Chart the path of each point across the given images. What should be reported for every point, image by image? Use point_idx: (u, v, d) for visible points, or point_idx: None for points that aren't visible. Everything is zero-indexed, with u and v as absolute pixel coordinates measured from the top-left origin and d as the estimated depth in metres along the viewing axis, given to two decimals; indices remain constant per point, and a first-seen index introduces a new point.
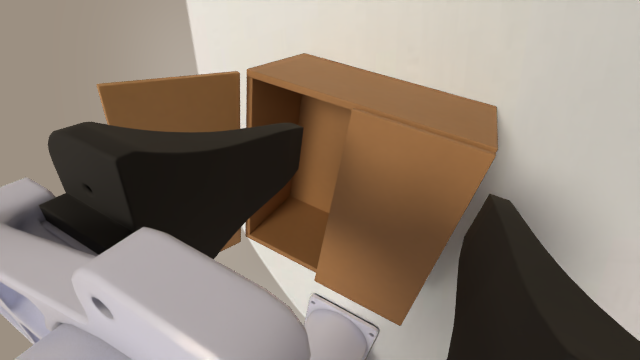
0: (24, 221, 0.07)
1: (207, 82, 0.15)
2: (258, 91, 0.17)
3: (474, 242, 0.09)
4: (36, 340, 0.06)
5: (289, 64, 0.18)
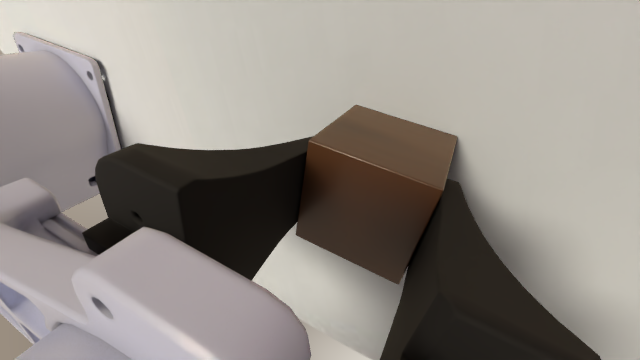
0: (24, 221, 0.07)
1: None
2: None
3: None
4: (36, 340, 0.06)
5: None
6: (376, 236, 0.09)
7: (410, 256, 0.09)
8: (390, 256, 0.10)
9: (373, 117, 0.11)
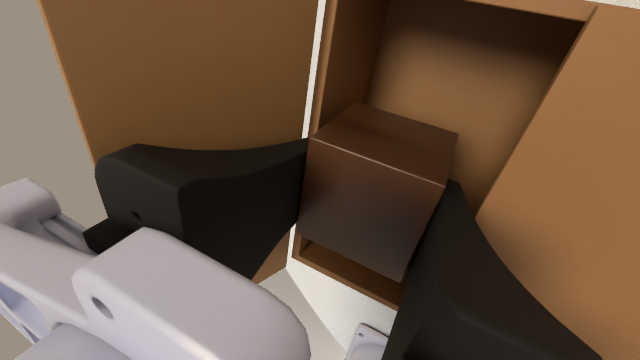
0: (24, 221, 0.07)
1: None
2: (343, 11, 0.10)
3: None
4: (36, 340, 0.06)
5: None
6: (377, 234, 0.09)
7: (411, 254, 0.09)
8: (391, 254, 0.09)
9: (374, 114, 0.11)
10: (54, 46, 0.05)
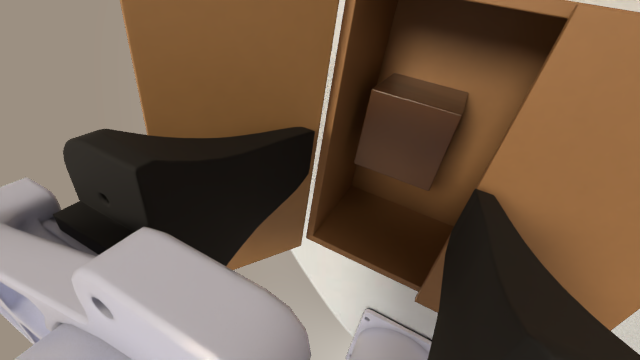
0: (24, 221, 0.07)
1: None
2: (359, 10, 0.11)
3: (459, 236, 0.10)
4: (36, 340, 0.06)
5: None
6: (415, 155, 0.14)
7: (438, 167, 0.14)
8: (424, 170, 0.14)
9: (408, 79, 0.16)
10: (125, 25, 0.07)
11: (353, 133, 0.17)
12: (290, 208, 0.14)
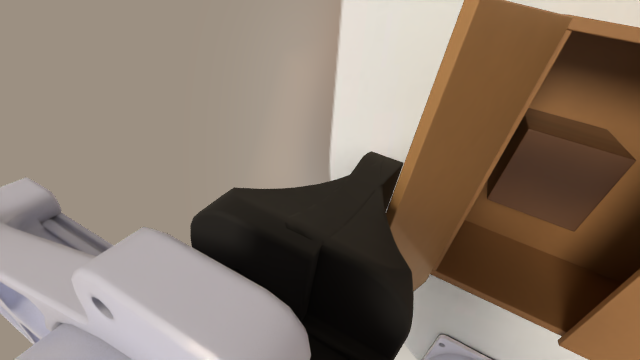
0: (24, 221, 0.07)
1: (548, 26, 0.08)
2: None
3: None
4: (36, 340, 0.06)
5: None
6: (566, 196, 0.14)
7: (592, 209, 0.13)
8: (574, 210, 0.14)
9: (544, 115, 0.15)
10: (438, 102, 0.07)
11: None
12: (437, 249, 0.14)
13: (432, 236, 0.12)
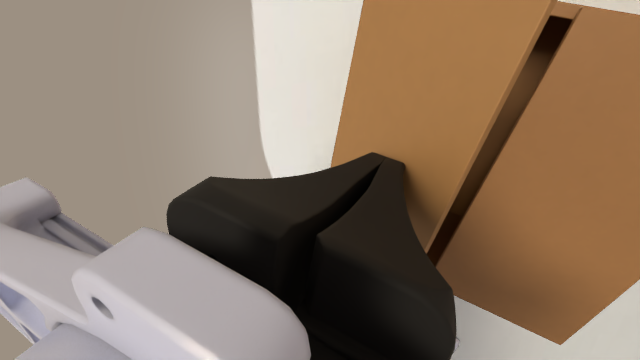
0: (24, 221, 0.07)
1: None
2: None
3: None
4: (36, 340, 0.06)
5: None
6: None
7: None
8: None
9: None
10: (510, 91, 0.08)
11: None
12: None
13: None
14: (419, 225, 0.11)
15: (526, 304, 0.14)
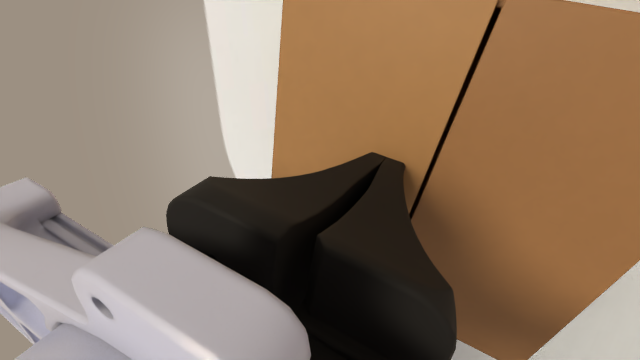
0: (24, 221, 0.07)
1: None
2: None
3: None
4: (36, 340, 0.06)
5: None
6: None
7: None
8: None
9: None
10: (467, 72, 0.09)
11: None
12: None
13: None
14: None
15: (478, 325, 0.12)
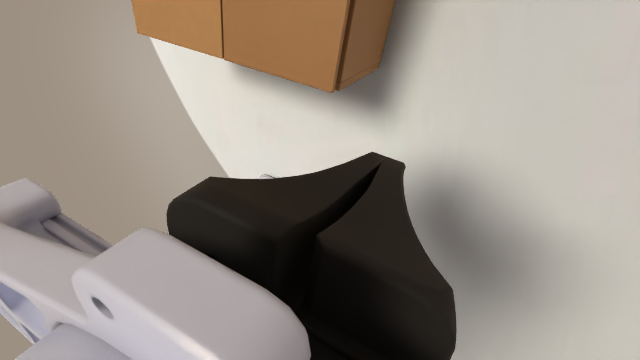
0: (24, 221, 0.07)
1: None
2: None
3: None
4: (36, 340, 0.06)
5: None
6: None
7: None
8: None
9: None
10: None
11: None
12: None
13: None
14: None
15: (294, 48, 0.14)
